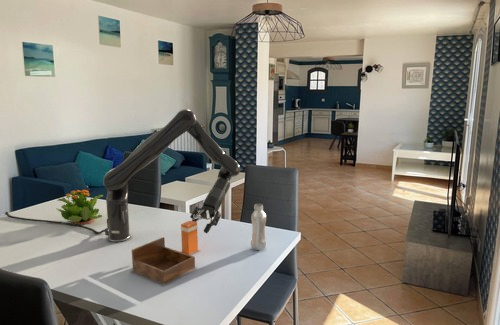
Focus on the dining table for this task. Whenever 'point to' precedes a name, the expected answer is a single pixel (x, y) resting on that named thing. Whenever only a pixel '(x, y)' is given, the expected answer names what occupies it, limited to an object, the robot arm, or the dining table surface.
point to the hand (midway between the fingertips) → (197, 230)
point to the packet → (189, 237)
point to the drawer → (161, 261)
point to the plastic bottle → (258, 228)
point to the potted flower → (80, 208)
